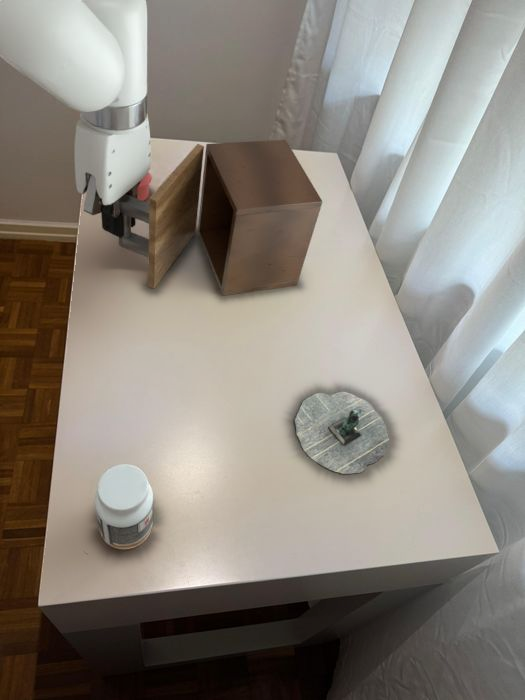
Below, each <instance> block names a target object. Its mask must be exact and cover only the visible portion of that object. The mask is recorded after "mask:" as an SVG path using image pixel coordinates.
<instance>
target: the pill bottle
mask: <svg viewBox="0 0 525 700" xmlns="http://www.w3.org/2000/svg"><path fill="white" fill-rule="evenodd" d="M93 504H94V509H95V515H96V520H97V527H98V531H99V533H100V536H101V538H102V539H103V540H104V542H105V543H106V544H107V545H108V546H110V547H112V548H115V549H118V550H130V549H134V548H136V547H138V546H140V545H142V544H143V543H144V542H145V541H146V540H147V539H148V537H149V536H150V534H151V532H152V529H153V525H154V524H153V523H154V493H153V489H152V487H151V485H150V483H149V481H148V478H147V475H146V474H145V473H144V471H143V470H142V469H141V468H139V467H138V466H136V465H133V464H129V463H122V464H116V465H114V466H112V467H110V468H108V469H107V470H105V471H104V472H103V473H102V475H101V476H100V478H99V480H98V484H97V489H96V492H95V495H94V503H93Z"/></svg>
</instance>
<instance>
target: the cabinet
mask: <svg viewBox="0 0 525 700" xmlns="http://www.w3.org/2000/svg"><path fill="white" fill-rule="evenodd" d="M204 154H205V155H204V164H203V172H202V173H203V174H202V182H201V193H200V202H199V211H198V212H199V214H198V223H197V234H198V237H199V239H200V242H201V245H202V247H203V249H204V252H205V255H206V257H207V259H208V262H209V265H210V267H211V270H212V272H213V276H214V277H215V280H216V283H217V285H218V289H219V291H220V293H221V296H223V297H225V296H231V295H238V294H244V293H252V292H259V291H265V290H266V291H267V290H274V289H279V288H287V287H293V286H294V287H295V286H298V283H299V281H300V278H301V273H302V270H303V267H304V264H305V261H306V257H307V255H308V250H309V247H310V244H311V241H312V238H313V235H314V231H315V228H316V225H317V221H318V218H319V215H320V211H321V208H322V206H323V199H322V198H321V196H320V195H319V193H318V191H317V189H316V187H315V186H314V184H313V183H312V182H311V181H312V180H311V179H310V178H309V177H308V175H307V173H306V171H305V169H304V168H303V166H302V165H301V163H300V161H299V159H298V158H297V156H296V155H295V152H294V151H293V149H292V148H291V145H290V144H289V143H288V141H287V140H286V139H274V140H254V141H237V142H235V141H233V142H218V143H217V142H215V143H206V146H205V153H204Z"/></svg>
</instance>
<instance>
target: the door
mask: <svg viewBox="0 0 525 700" xmlns="http://www.w3.org/2000/svg"><path fill="white" fill-rule="evenodd" d="M204 149H205V145H202V144H199V143H197V144H196V145H194V147H193V148H192V149H191V150H190V151H189V153H188V154H187V155H186V156H185V157H184V158H183V160H182V161H181V162H180V163H179V164H178V165H177V167H176V168H175V169H174V170H173V171H172V172H171V173H170V174H169V175H168V177H167V178H166V179H165V180H164V181H163V182H162V183H161V184H160V186H158V188H157V189H156V190H155V191H154V193H152V195H150V197H148V198H149V201H148V202H147V201H145V200H144V201H142V200H139V199H137V198H134V197H131V196H129V195H126V194H124V195H123V196H122V197H120V198H119V199H120V212H121V213H122V214H123V222H124V236H123V237H122V238H119V237H117V238H118V239H117V240H118V241H117V243H118V246H119V247H121V248H123V249H125V250H129V251H130V252H132V253H135V254H138V255H140V256H143V257H146V258H148V266H147V267H148V271H147V272H148V273H147V286H148V287H149V288H151V289H155V288H156V287H157V286H158V284H159V283H160V282H161V281H162V280H163V278H164V276H165V275H166V273H167V272H168V271H169V270H170V268H171V267H172V266H173V264H174V263H175V262H176V260H177V259H178V257H179V256H180V255H181V253H182V252H183V250H184V249H185V248H186V247H187V245H188V244H189V242H191V240H192V239H193V238H194V235H195V234H196V233H197V224H198V223H197V221H198V212H199V204H200V202H199V201H200V191H201V183H202V182H201V180H202V173H203V172H202V171H203V161H204ZM131 217H133V218H135V220H137V221H141V222H143V223H144V224H148V238H147V237H145V236H143V235H140V234H138V233H134V232H133V231H132V227H131Z"/></svg>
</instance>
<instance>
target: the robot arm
mask: <svg viewBox="0 0 525 700" xmlns="http://www.w3.org/2000/svg"><path fill="white" fill-rule="evenodd" d="M0 58H2V60H4V62H6V63H8V65H10V66H11V67H13V68H14V69H15V70H17V71H18V72H19V73H21V74H22V75H23V76H25V77H27V78H28V79H29V80H30V81H32V82H34V83H35V84H36V85H38V86H39V87H40V88H42V89H43V90H45V91H46V92H47V93H49V94H50V95H51V96H53V97H54V98H55V99H57V100H58V101H59V102H60V103H62V104H63V105H65V106H66V107H67V108H69V109H71V110H74V111H78V112H79V115H80V118H79V119H78V120H77V122H76V127H75V136H74V176H75V177H74V178H75V185H76V191H77V193H78V194H81V195H84V194H85V193H86V194H85V199H84V205H83V212H85V213H87V214H90V215H91V216H95V215H98V214H100V215H101V216H100V217H101V218H100V219H101V228H102V230H103V231H105V232H107V233H109V234H111V235H113V236H115V237H117V238H118V237H119V238H122V237H123V236H124V222H123V214H122V213H121V212H120V199H119V198H120V197H122V196H123V195H124V194H126V195H129V196H131V197H134V198H137V197H138V186H139V184H140V181H141V180H142V179H143V178H144V177H145V176H146V175H147V173H148V172H149V171H150V169H151V160H152V159H151V158H152V152H151V151H152V146H151V130H150V123H149V115H148V4H147V1H146V0H0ZM149 173H150V172H149ZM135 226H136V219H135V218H133V217H131V228H134V227H135Z"/></svg>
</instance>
